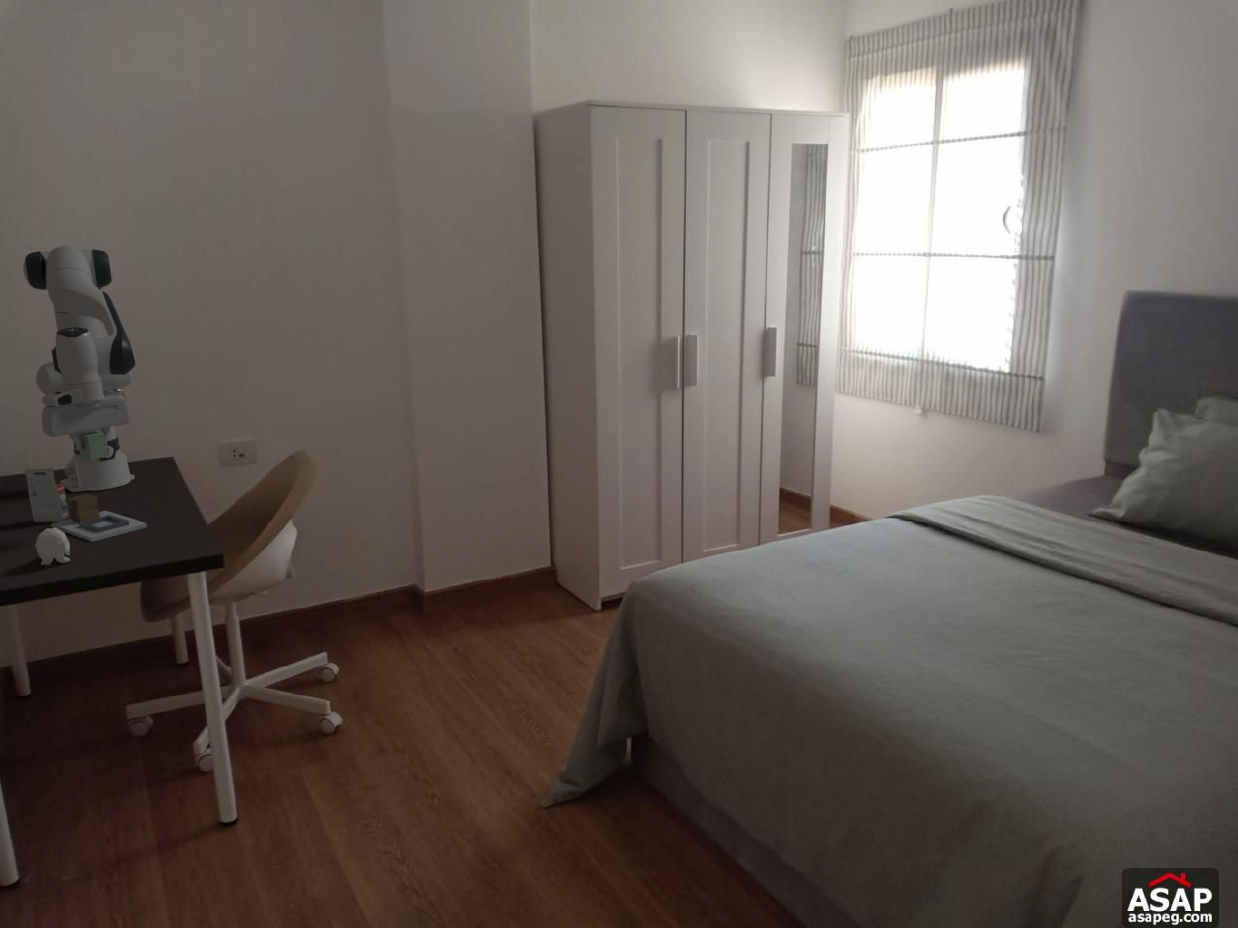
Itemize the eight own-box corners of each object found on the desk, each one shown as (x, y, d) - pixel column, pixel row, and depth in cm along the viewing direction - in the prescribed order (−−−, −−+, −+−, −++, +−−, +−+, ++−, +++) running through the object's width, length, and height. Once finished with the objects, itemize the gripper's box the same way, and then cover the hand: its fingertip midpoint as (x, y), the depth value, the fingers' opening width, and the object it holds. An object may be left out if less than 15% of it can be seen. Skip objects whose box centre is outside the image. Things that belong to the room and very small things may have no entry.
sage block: (80, 457, 245) (76, 434, 244) (96, 454, 248) (92, 431, 247) (91, 459, 241) (87, 436, 240) (107, 456, 245) (103, 433, 243)
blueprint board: (51, 527, 252) (47, 501, 251) (106, 514, 263) (102, 489, 261) (91, 541, 239) (87, 514, 238) (147, 527, 250) (143, 501, 248)
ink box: (41, 518, 261) (32, 466, 257) (70, 518, 260) (61, 465, 257) (33, 522, 257) (23, 469, 253) (62, 522, 257) (53, 468, 253)
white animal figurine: (31, 532, 218) (41, 523, 229) (37, 569, 220) (47, 558, 231) (63, 528, 221) (71, 519, 232) (68, 565, 222) (77, 554, 233)
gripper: (118, 386, 251) (126, 438, 254) (34, 399, 235) (44, 454, 238) (130, 388, 247) (139, 441, 250) (46, 400, 231) (56, 457, 235)
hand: (92, 447), depth 244 cm, fingers closed on sage block, 4 cm apart
